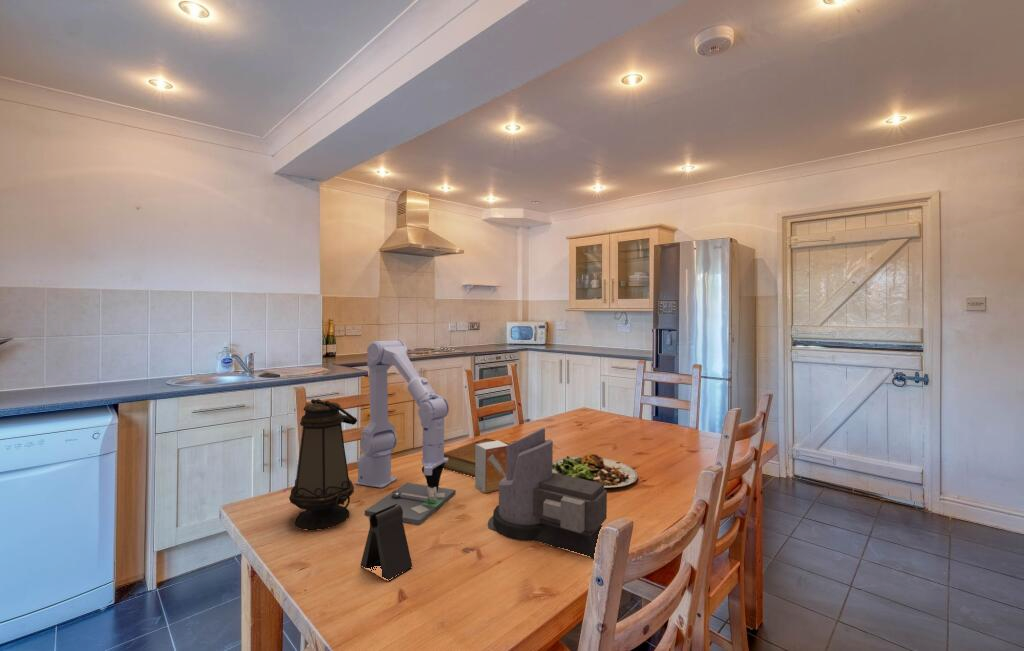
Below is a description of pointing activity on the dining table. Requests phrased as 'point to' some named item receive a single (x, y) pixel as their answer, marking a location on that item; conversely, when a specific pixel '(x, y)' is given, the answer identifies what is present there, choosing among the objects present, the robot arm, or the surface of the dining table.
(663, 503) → the dining table surface
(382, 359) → the robot arm
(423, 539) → the dining table surface
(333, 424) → the lantern
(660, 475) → the dining table surface
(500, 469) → the small box
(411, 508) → the dial board
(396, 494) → the metal crank handle
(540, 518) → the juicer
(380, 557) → the black tent sign
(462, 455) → the diary
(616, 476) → the plate of food
